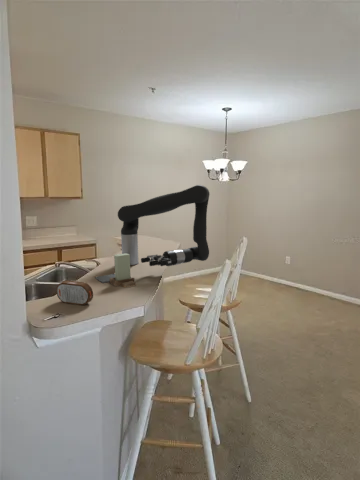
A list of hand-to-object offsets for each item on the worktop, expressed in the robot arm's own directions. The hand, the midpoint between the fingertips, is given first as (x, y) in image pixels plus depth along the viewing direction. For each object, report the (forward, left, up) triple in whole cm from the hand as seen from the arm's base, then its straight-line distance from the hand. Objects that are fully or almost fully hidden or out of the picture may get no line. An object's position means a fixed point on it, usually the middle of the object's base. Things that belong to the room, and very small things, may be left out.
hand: (145, 262), depth 150 cm
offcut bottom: (+6, -12, -9) cm, 16 cm away
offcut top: (+6, -12, -8) cm, 15 cm away
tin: (+14, -38, -8) cm, 41 cm away
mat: (-10, -13, -8) cm, 18 cm away
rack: (0, -12, -8) cm, 14 cm away
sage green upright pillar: (0, -12, -8) cm, 14 cm away
